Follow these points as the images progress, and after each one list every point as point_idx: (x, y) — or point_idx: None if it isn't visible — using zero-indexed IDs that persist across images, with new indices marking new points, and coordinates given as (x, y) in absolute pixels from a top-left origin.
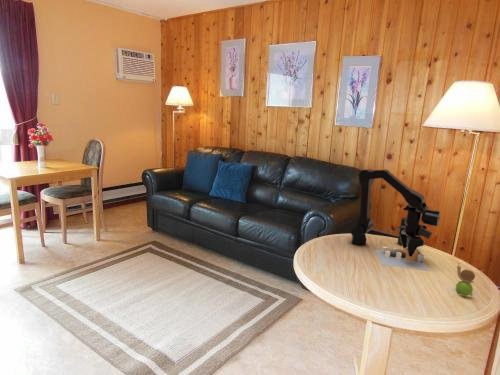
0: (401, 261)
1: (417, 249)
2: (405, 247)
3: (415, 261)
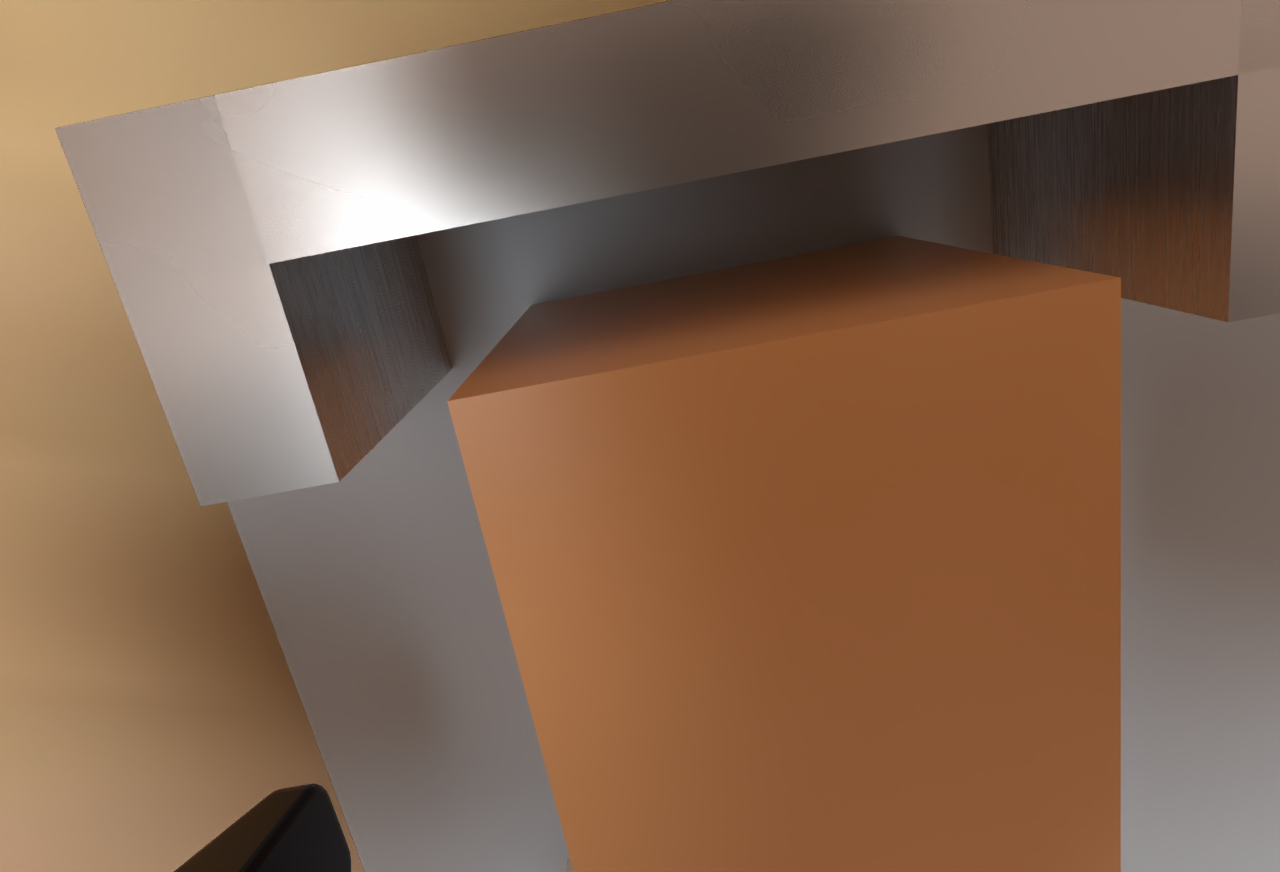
0: (1202, 777)
1: (242, 224)
2: (301, 865)
3: None
